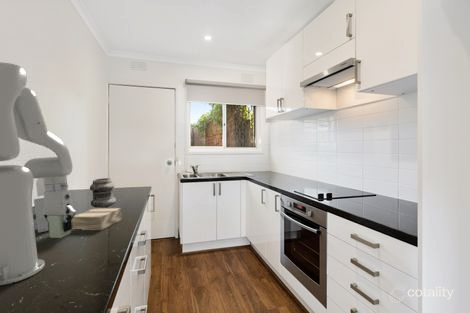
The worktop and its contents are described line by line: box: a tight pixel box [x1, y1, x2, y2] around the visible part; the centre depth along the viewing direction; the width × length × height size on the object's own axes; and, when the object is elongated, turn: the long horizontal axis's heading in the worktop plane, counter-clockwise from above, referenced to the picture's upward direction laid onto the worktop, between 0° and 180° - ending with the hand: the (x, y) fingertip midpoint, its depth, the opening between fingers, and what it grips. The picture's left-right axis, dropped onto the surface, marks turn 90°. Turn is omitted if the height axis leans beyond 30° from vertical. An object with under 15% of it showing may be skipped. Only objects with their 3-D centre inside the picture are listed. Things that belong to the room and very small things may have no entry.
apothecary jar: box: [89, 177, 117, 208], centre depth 131 cm, size 12×12×18 cm
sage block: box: [48, 215, 72, 239], centre depth 99 cm, size 5×5×9 cm
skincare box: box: [33, 196, 50, 233], centre depth 108 cm, size 8×6×15 cm
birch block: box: [71, 207, 123, 231], centre depth 111 cm, size 14×14×6 cm
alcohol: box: [35, 178, 45, 197], centre depth 134 cm, size 9×9×30 cm
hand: (60, 229), depth 99 cm, fingers open, 6 cm apart
